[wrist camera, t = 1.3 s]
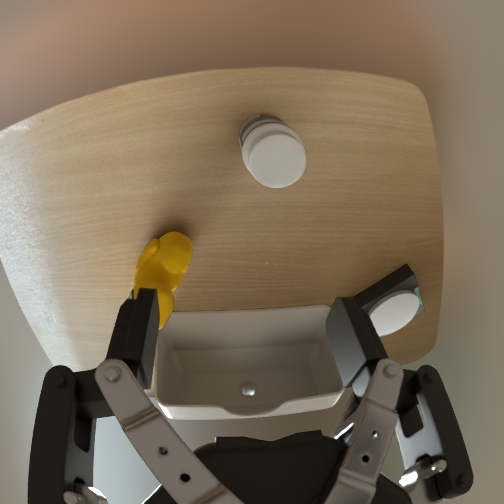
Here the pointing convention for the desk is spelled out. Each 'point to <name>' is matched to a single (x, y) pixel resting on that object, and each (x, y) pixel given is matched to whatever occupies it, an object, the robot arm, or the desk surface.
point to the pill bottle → (271, 151)
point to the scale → (392, 301)
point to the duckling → (163, 269)
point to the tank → (246, 363)
